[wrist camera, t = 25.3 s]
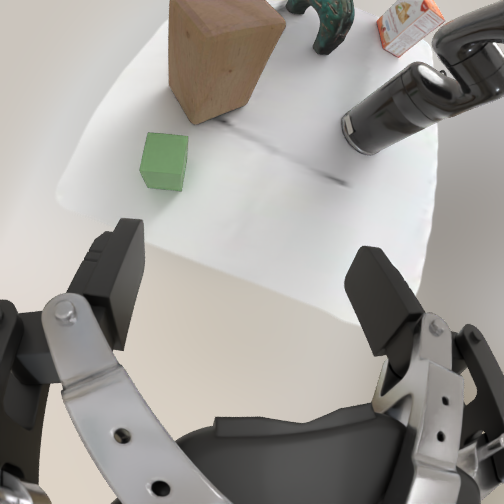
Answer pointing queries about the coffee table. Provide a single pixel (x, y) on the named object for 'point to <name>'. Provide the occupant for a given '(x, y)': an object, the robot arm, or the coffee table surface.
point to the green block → (164, 161)
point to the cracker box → (408, 24)
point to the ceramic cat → (327, 21)
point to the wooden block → (219, 52)
